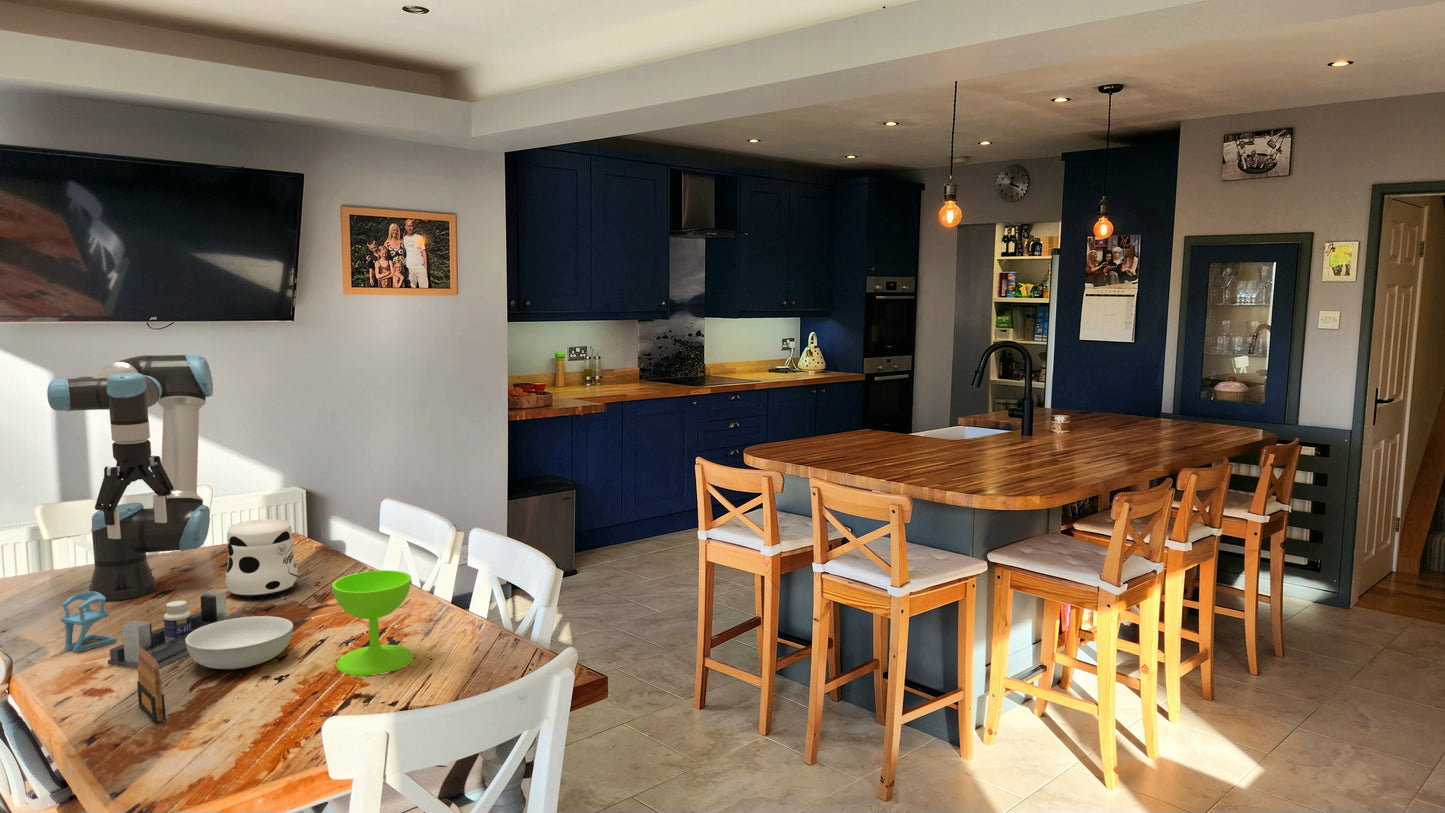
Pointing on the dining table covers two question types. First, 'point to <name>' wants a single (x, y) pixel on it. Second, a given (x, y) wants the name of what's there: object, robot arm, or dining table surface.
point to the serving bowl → (239, 641)
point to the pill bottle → (176, 620)
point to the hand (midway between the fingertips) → (138, 530)
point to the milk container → (260, 558)
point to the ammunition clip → (150, 687)
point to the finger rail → (154, 642)
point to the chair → (85, 621)
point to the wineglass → (372, 618)
